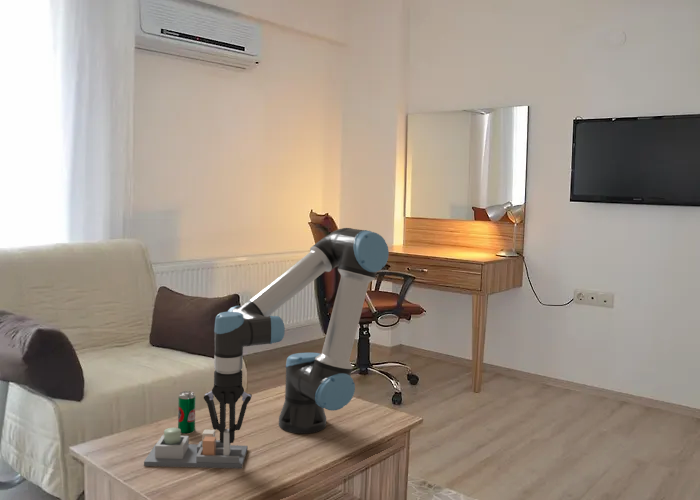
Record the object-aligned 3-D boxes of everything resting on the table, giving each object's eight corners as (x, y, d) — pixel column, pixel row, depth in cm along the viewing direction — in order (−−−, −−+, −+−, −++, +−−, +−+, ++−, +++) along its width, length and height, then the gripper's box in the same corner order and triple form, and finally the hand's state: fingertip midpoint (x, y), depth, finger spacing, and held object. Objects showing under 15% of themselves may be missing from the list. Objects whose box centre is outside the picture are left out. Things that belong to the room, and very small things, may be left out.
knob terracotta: (215, 454, 176) (215, 436, 175) (213, 459, 173) (214, 441, 172) (204, 454, 176) (204, 436, 175) (202, 458, 173) (202, 441, 172)
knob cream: (214, 446, 181) (215, 429, 180) (212, 451, 178) (213, 433, 177) (204, 446, 181) (204, 429, 180) (202, 450, 178) (202, 433, 177)
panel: (247, 449, 183) (247, 434, 183) (241, 468, 171) (242, 452, 171) (156, 447, 182) (156, 431, 182) (143, 465, 170) (144, 449, 170)
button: (182, 438, 178) (182, 427, 178) (178, 444, 174) (178, 434, 173) (166, 437, 178) (166, 427, 178) (162, 444, 174) (162, 433, 173)
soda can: (190, 435, 191) (191, 396, 190) (174, 433, 192) (175, 395, 191) (197, 429, 196) (198, 391, 195) (182, 427, 197) (183, 389, 196)
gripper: (254, 366, 176) (252, 448, 178) (206, 365, 175) (205, 447, 178) (250, 374, 168) (248, 460, 171) (201, 373, 168) (200, 459, 170)
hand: (226, 453), depth 174 cm, fingers closed
